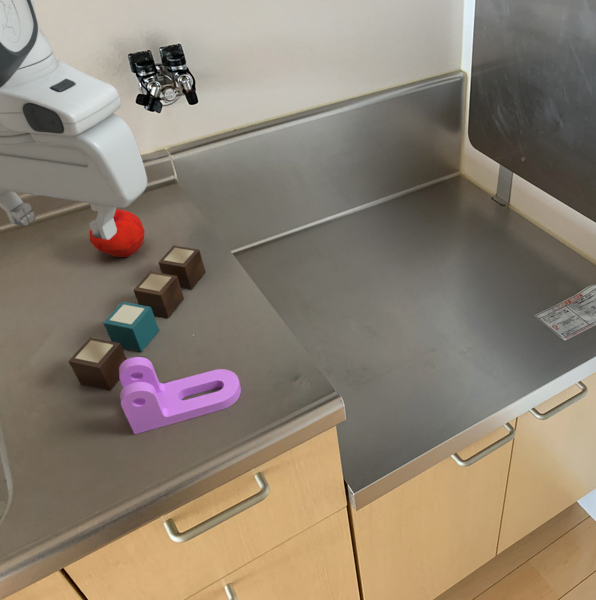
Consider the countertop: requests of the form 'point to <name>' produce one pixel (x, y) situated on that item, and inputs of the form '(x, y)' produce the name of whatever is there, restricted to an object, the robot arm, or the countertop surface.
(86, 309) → the countertop surface
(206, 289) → the countertop surface
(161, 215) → the countertop surface
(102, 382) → the block
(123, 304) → the letter block
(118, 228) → the apple
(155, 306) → the block
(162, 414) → the bracket
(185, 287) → the block
